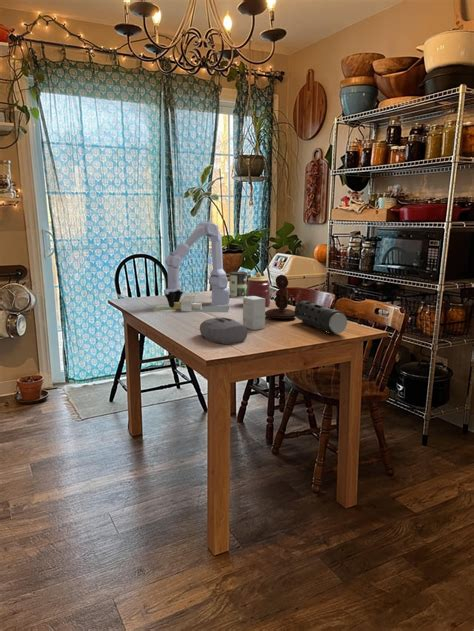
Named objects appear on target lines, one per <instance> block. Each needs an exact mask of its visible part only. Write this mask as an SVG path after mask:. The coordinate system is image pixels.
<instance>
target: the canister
mask: <svg viewBox="0 0 474 631" xmlns="http://www.w3.org/2000/svg"><path fill="white" fill-rule="evenodd" d="M269 281H270V278H268V277H267V276H266V275H262V274H261V272H256V274H255V275H251V276H249V277H247V283H246V285H247V289H246V297H249V296H257V297H261V298H265V308H267V307H270V306H271V287H270V286H271V282H269Z"/></svg>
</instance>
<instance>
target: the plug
mask: <svg viewBox="0 0 474 631" xmlns="http://www.w3.org/2000/svg"><path fill="white" fill-rule="evenodd" d="M202 304H203V303H202V302H200V303H199V302H195V303H193V310H201V309H202V306H203V305H202ZM171 309H181V301H179V302H174V307H171Z"/></svg>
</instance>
